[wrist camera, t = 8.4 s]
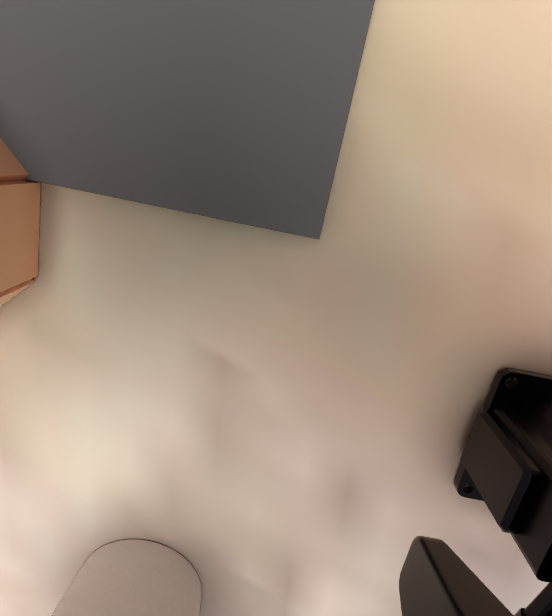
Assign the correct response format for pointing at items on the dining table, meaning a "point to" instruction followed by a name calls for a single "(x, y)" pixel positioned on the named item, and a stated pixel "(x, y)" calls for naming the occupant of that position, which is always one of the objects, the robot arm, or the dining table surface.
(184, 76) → the trivet
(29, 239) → the bowl
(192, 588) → the coffee cup
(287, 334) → the dining table surface
